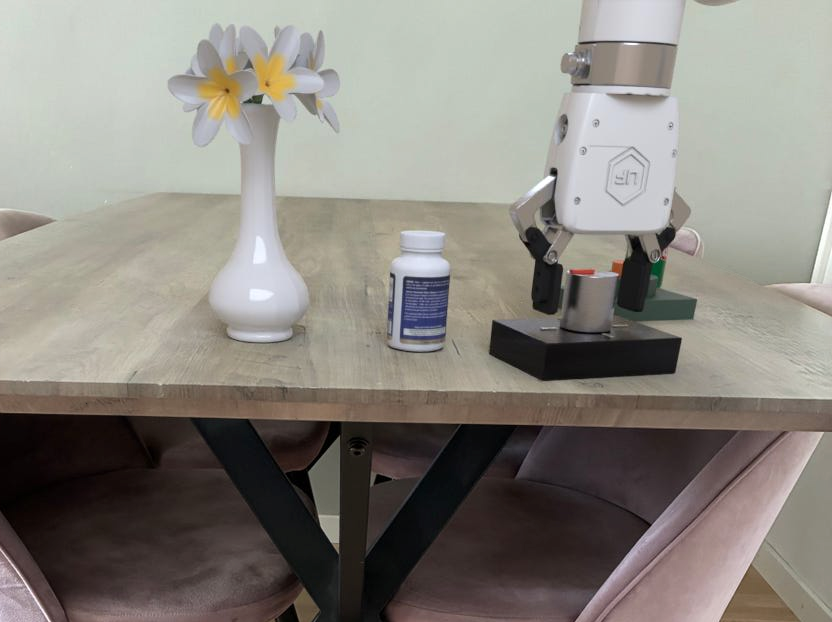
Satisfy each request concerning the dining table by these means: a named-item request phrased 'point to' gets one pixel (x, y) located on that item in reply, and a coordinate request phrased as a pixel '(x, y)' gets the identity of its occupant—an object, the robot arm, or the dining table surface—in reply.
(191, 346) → the dining table surface
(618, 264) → the button
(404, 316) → the pill bottle
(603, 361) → the dial panel
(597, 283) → the dial
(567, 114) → the robot arm
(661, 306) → the button block
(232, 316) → the flower vase
